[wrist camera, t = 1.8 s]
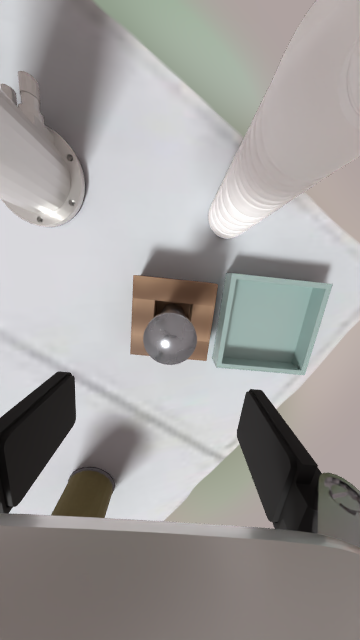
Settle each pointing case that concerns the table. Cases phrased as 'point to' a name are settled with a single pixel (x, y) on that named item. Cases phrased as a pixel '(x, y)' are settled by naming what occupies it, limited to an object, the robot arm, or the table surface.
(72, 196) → the robot arm
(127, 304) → the table surface
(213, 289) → the block
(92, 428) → the table surface
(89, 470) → the canister
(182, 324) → the steel pin
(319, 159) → the water bottle
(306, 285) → the tray
